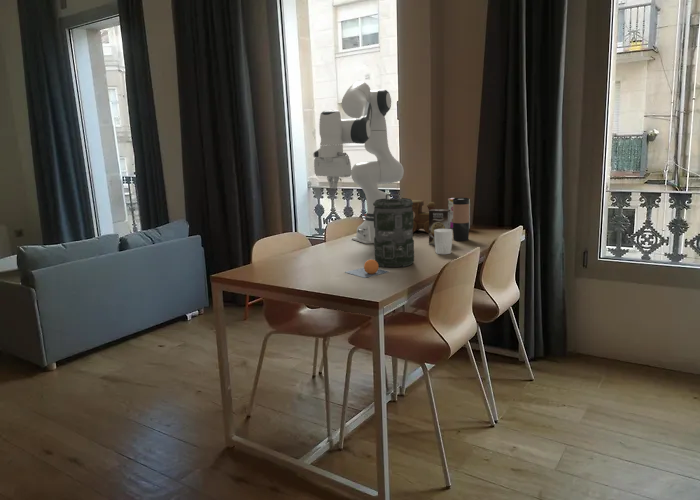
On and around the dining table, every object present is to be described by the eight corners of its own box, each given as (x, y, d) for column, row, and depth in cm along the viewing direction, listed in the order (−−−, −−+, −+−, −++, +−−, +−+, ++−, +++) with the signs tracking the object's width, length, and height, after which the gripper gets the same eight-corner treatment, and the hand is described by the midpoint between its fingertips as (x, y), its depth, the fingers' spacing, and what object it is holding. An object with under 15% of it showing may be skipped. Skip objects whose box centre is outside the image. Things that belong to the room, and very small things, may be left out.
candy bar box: (447, 228, 291) (447, 198, 288) (452, 227, 295) (452, 197, 291) (465, 230, 284) (465, 199, 280) (470, 229, 287) (470, 198, 284)
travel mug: (469, 238, 261) (470, 197, 257) (468, 241, 254) (468, 199, 250) (454, 238, 264) (454, 197, 260) (451, 240, 257) (451, 199, 253)
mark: (344, 272, 204) (344, 271, 204) (368, 267, 211) (368, 266, 211) (364, 278, 195) (364, 277, 195) (389, 272, 202) (389, 271, 202)
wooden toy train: (400, 233, 284) (400, 202, 280) (407, 229, 294) (407, 199, 291) (437, 234, 276) (437, 202, 272) (443, 230, 286) (443, 199, 282)
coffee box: (428, 244, 250) (428, 210, 247) (431, 242, 256) (431, 208, 253) (447, 245, 247) (447, 210, 244) (450, 242, 253) (450, 208, 250)
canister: (422, 262, 215) (421, 193, 210) (396, 270, 204) (395, 197, 199) (392, 257, 226) (390, 191, 221) (366, 264, 215) (364, 195, 210)
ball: (367, 258, 196) (371, 273, 196) (379, 256, 200) (383, 270, 199) (359, 262, 201) (363, 276, 200) (371, 260, 204) (375, 274, 203)
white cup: (452, 254, 227) (452, 231, 225) (433, 254, 229) (433, 231, 227) (452, 251, 235) (452, 228, 233) (434, 251, 236) (434, 228, 234)
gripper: (354, 152, 203) (356, 188, 205) (323, 152, 218) (325, 186, 221) (341, 152, 199) (343, 190, 202) (310, 153, 215) (312, 187, 217)
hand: (333, 188), depth 211 cm, fingers closed
